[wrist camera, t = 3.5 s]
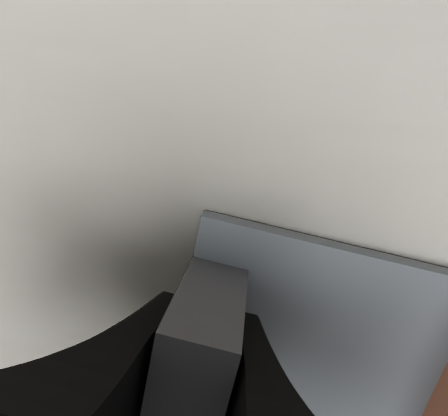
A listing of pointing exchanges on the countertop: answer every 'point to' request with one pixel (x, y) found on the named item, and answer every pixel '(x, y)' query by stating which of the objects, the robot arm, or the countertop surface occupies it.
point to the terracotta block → (439, 397)
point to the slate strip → (300, 323)
